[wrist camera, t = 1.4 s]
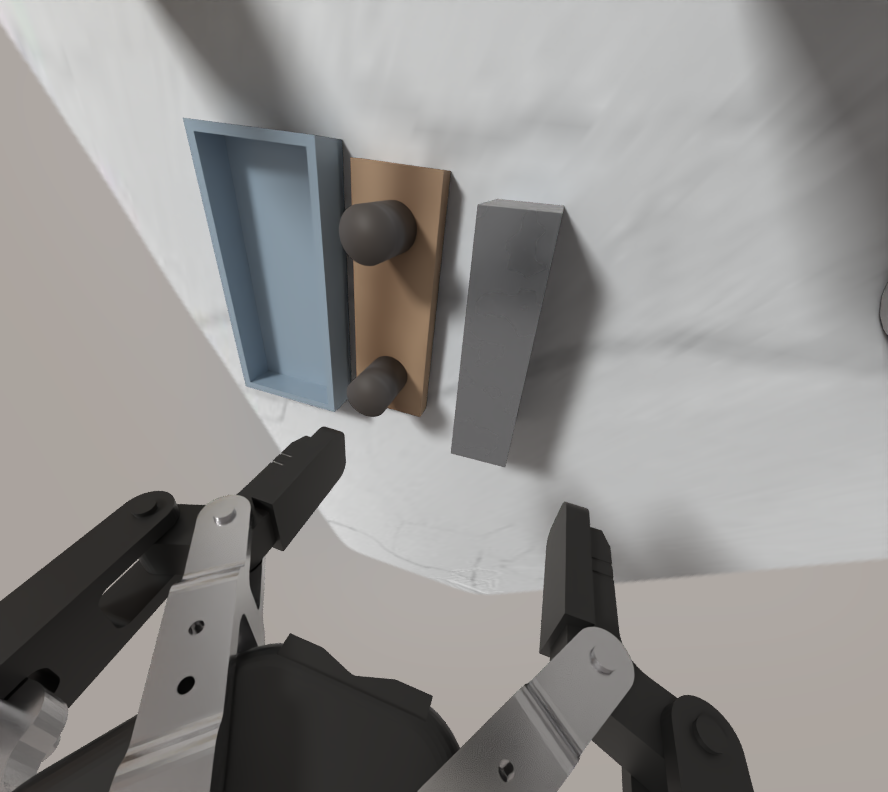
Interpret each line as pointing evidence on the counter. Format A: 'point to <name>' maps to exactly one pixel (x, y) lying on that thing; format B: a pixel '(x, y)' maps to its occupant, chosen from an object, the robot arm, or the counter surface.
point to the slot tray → (279, 254)
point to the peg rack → (394, 280)
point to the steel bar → (501, 322)
